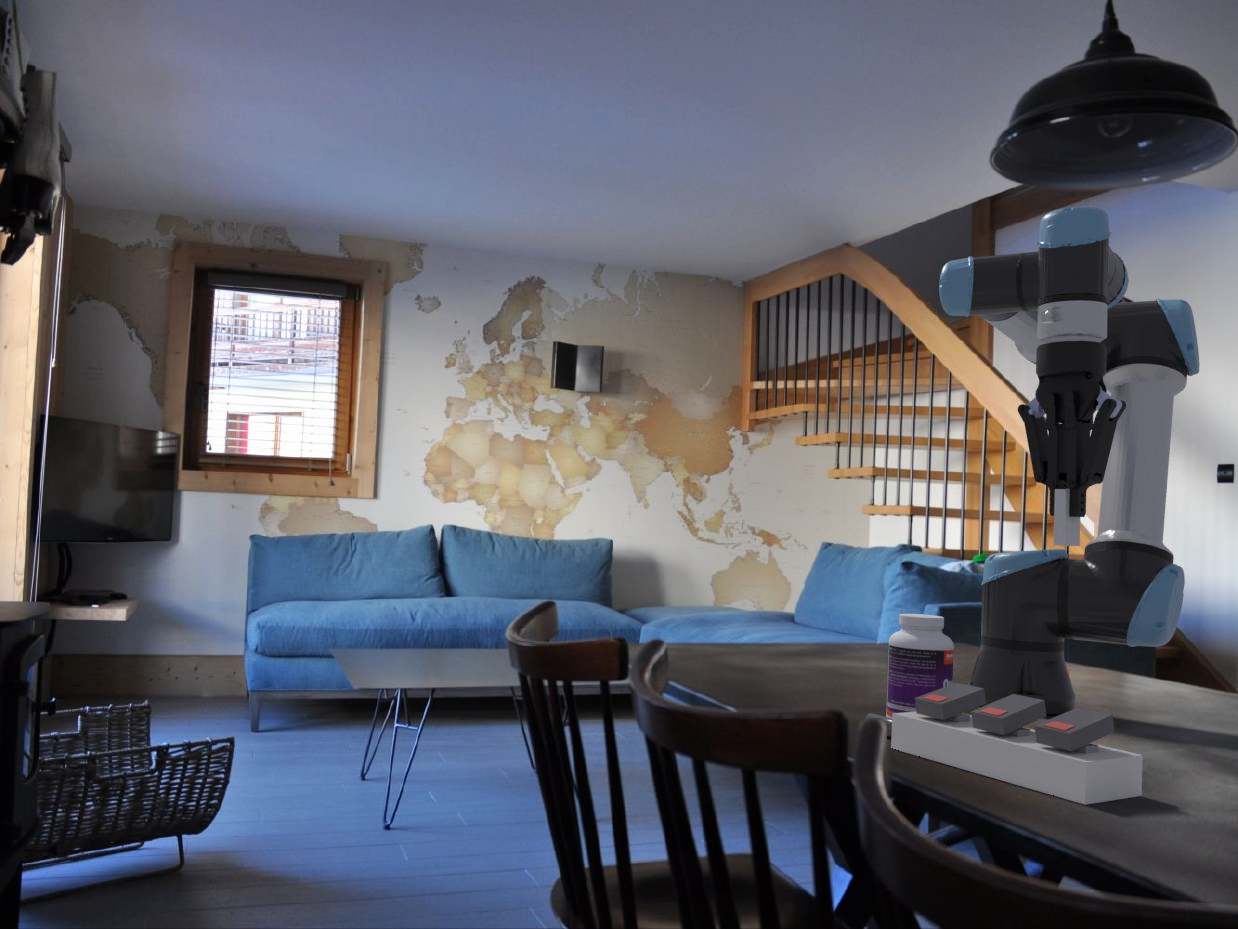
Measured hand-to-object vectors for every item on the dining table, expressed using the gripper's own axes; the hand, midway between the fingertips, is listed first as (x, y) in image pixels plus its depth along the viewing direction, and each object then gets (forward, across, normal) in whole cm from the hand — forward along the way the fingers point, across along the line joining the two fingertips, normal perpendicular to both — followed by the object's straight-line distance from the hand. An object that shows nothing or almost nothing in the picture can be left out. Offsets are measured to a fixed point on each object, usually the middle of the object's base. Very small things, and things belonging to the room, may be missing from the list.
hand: (1066, 545), depth 122 cm
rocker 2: (+18, +2, -12) cm, 22 cm away
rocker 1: (+18, -6, -12) cm, 23 cm away
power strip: (+24, -2, -12) cm, 27 cm away
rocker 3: (+18, +10, -12) cm, 24 cm away
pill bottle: (+25, -18, -4) cm, 31 cm away
